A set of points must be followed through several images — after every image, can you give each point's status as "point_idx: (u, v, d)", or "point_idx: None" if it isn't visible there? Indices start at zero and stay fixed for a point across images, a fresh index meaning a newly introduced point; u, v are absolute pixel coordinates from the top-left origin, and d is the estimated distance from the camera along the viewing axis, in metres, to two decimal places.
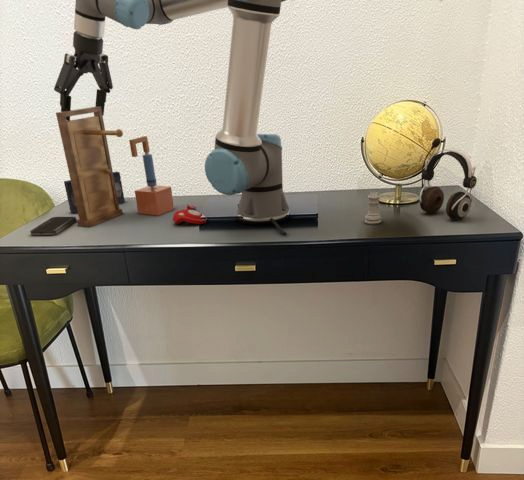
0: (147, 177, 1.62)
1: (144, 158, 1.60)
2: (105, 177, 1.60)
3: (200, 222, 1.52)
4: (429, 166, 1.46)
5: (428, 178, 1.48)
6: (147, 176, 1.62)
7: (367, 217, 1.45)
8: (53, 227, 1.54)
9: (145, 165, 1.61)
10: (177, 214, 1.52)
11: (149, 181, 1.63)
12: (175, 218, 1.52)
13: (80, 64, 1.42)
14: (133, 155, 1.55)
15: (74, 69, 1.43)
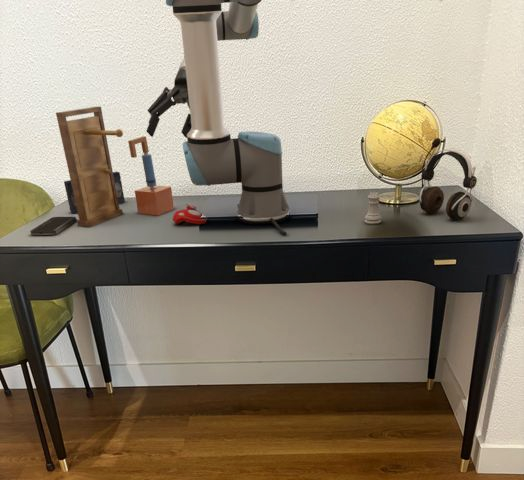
0: (147, 177, 1.62)
1: (143, 158, 1.59)
2: (105, 177, 1.60)
3: (200, 222, 1.52)
4: (429, 166, 1.46)
5: (428, 178, 1.48)
6: (147, 176, 1.62)
7: (367, 217, 1.45)
8: (53, 227, 1.54)
9: (144, 165, 1.60)
10: (177, 214, 1.52)
11: (149, 181, 1.63)
12: (175, 218, 1.52)
13: (172, 93, 1.69)
14: (132, 156, 1.55)
15: None
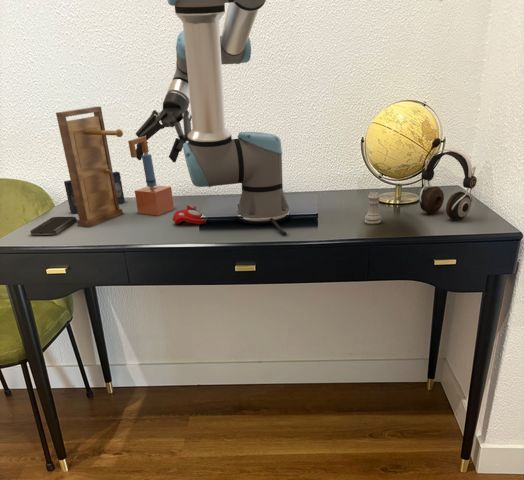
0: (147, 177, 1.62)
1: (143, 158, 1.59)
2: (105, 177, 1.60)
3: (200, 222, 1.52)
4: (429, 166, 1.46)
5: (428, 178, 1.48)
6: (147, 176, 1.62)
7: (367, 217, 1.45)
8: (53, 227, 1.54)
9: (144, 165, 1.60)
10: (177, 214, 1.52)
11: (149, 181, 1.63)
12: (175, 218, 1.52)
13: (160, 116, 1.66)
14: (132, 156, 1.55)
15: None
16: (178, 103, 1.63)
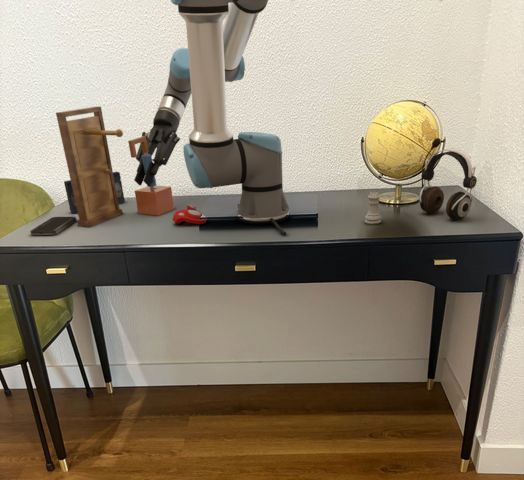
0: None
1: (143, 158, 1.59)
2: (105, 177, 1.60)
3: (200, 222, 1.52)
4: (429, 166, 1.46)
5: (428, 178, 1.48)
6: None
7: (367, 217, 1.45)
8: (53, 227, 1.54)
9: (144, 165, 1.60)
10: (177, 214, 1.52)
11: None
12: (175, 218, 1.52)
13: (150, 133, 1.64)
14: (132, 156, 1.55)
15: None
16: (169, 120, 1.61)
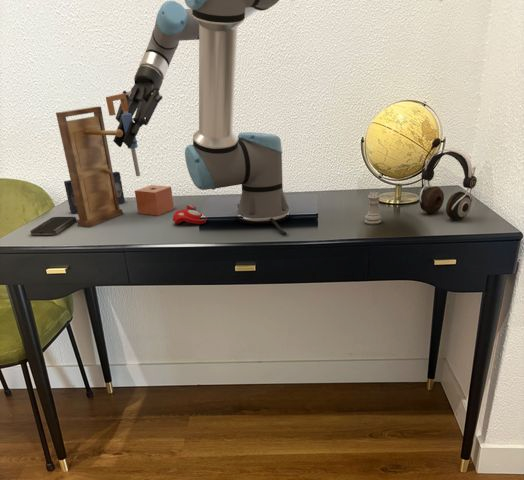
0: None
1: (123, 117, 1.49)
2: (105, 177, 1.60)
3: (200, 222, 1.52)
4: (429, 166, 1.46)
5: (428, 178, 1.48)
6: None
7: (367, 217, 1.45)
8: (53, 227, 1.54)
9: (124, 125, 1.50)
10: (177, 214, 1.52)
11: None
12: (175, 218, 1.52)
13: (131, 92, 1.54)
14: (110, 113, 1.45)
15: None
16: (150, 77, 1.51)
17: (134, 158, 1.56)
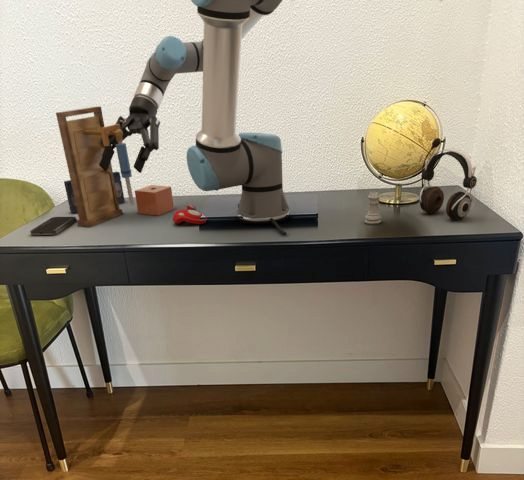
0: (121, 168, 1.52)
1: (117, 147, 1.49)
2: (105, 177, 1.60)
3: (200, 222, 1.52)
4: (429, 166, 1.46)
5: (428, 178, 1.48)
6: (121, 167, 1.52)
7: (367, 217, 1.45)
8: (53, 227, 1.54)
9: (119, 155, 1.51)
10: (177, 214, 1.52)
11: (123, 172, 1.53)
12: (175, 218, 1.52)
13: (126, 122, 1.54)
14: (105, 144, 1.45)
15: None
16: (145, 108, 1.51)
17: (128, 187, 1.56)
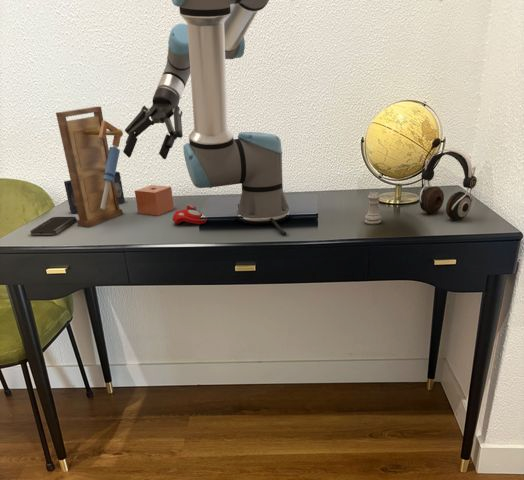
0: (106, 169, 1.48)
1: (110, 149, 1.47)
2: None
3: (200, 222, 1.52)
4: (429, 166, 1.46)
5: (428, 178, 1.48)
6: (106, 168, 1.48)
7: (367, 217, 1.45)
8: (53, 227, 1.54)
9: (109, 156, 1.48)
10: (177, 214, 1.52)
11: (107, 173, 1.47)
12: (175, 218, 1.52)
13: (150, 112, 1.62)
14: (100, 135, 1.43)
15: None
16: (168, 98, 1.59)
17: (105, 190, 1.48)
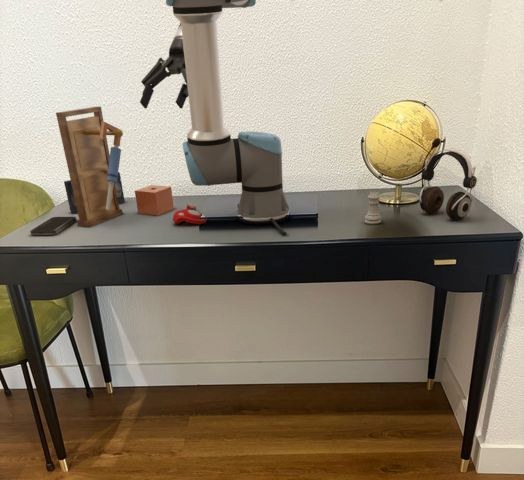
0: (109, 170, 1.49)
1: (112, 149, 1.48)
2: (105, 177, 1.60)
3: (200, 222, 1.52)
4: (429, 166, 1.46)
5: (428, 178, 1.48)
6: (109, 169, 1.48)
7: (367, 217, 1.45)
8: (53, 227, 1.54)
9: (110, 157, 1.48)
10: (177, 214, 1.52)
11: (110, 174, 1.48)
12: (175, 218, 1.52)
13: None
14: (101, 137, 1.43)
15: None
16: None
17: (109, 191, 1.50)
